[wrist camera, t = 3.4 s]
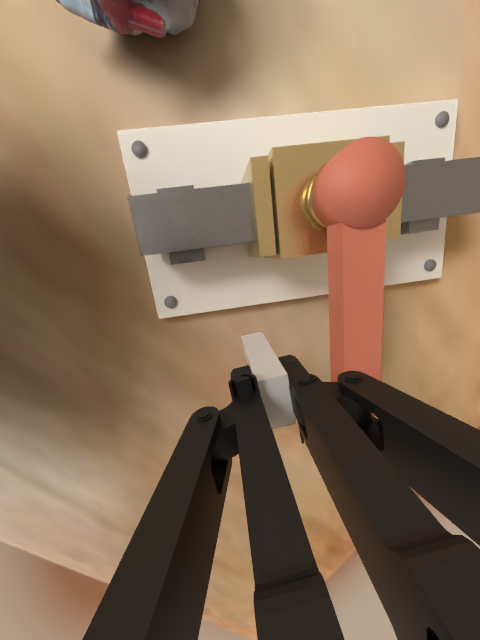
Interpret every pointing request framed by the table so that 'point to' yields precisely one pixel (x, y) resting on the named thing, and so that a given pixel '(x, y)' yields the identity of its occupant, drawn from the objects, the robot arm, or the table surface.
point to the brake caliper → (136, 15)
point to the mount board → (227, 169)
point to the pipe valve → (291, 205)
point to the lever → (357, 247)
